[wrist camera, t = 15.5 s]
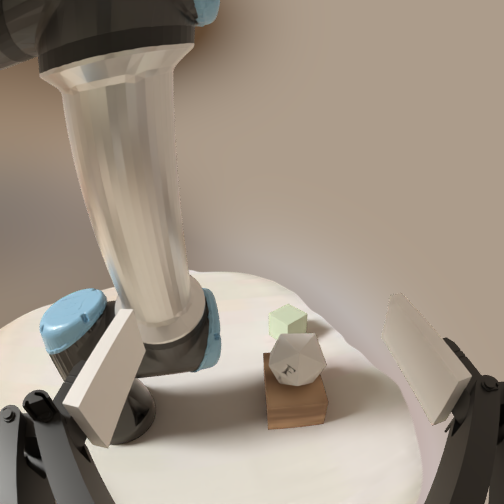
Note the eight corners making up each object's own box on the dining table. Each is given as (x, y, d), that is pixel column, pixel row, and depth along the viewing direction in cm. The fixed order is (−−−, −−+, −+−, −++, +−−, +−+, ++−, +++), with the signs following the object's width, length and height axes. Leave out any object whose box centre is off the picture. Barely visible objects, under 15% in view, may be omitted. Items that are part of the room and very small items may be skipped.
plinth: (323, 423, 39) (328, 402, 37) (268, 429, 39) (267, 408, 37) (310, 371, 51) (312, 349, 49) (264, 375, 51) (263, 353, 49)
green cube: (269, 335, 63) (268, 313, 61) (287, 324, 67) (288, 303, 65) (287, 347, 59) (287, 325, 57) (306, 335, 62) (307, 313, 60)
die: (259, 370, 46) (254, 360, 37) (291, 330, 49) (293, 311, 40) (299, 398, 42) (304, 396, 34) (330, 357, 45) (341, 343, 37)
